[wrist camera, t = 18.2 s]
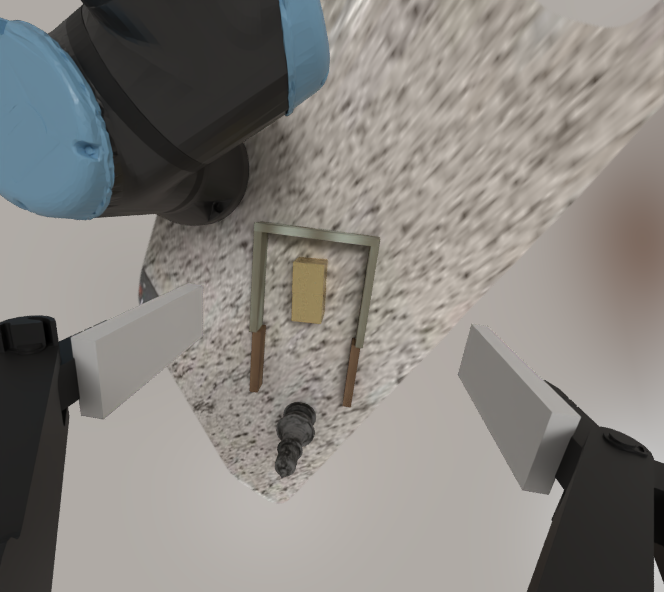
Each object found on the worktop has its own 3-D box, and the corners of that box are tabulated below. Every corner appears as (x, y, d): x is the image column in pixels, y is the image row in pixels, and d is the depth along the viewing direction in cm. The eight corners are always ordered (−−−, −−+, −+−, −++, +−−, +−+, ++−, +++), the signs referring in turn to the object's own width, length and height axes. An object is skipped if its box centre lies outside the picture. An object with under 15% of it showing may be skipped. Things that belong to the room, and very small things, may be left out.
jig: (252, 382, 50) (246, 392, 47) (261, 221, 43) (254, 222, 40) (353, 397, 49) (352, 409, 46) (379, 236, 42) (380, 239, 39)
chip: (298, 284, 45) (292, 292, 41) (299, 256, 44) (293, 262, 40) (325, 287, 45) (322, 295, 41) (327, 259, 44) (324, 264, 40)
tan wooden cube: (297, 311, 46) (291, 320, 42) (298, 284, 45) (292, 292, 41) (324, 313, 46) (320, 323, 42) (326, 287, 45) (322, 295, 41)
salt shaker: (321, 406, 50) (310, 466, 39) (312, 435, 52) (298, 501, 41) (286, 396, 50) (264, 453, 39) (278, 425, 52) (254, 488, 41)
